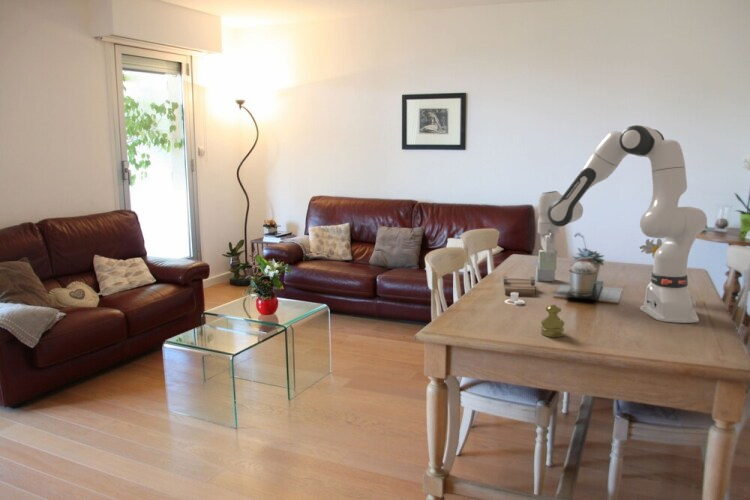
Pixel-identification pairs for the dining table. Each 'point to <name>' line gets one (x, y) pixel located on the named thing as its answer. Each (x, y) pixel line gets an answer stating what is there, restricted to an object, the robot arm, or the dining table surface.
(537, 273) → the medicine box
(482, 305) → the dining table surface
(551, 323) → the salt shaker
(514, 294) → the teacup and saucer
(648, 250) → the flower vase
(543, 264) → the green block
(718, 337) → the dining table surface
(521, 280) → the stand
